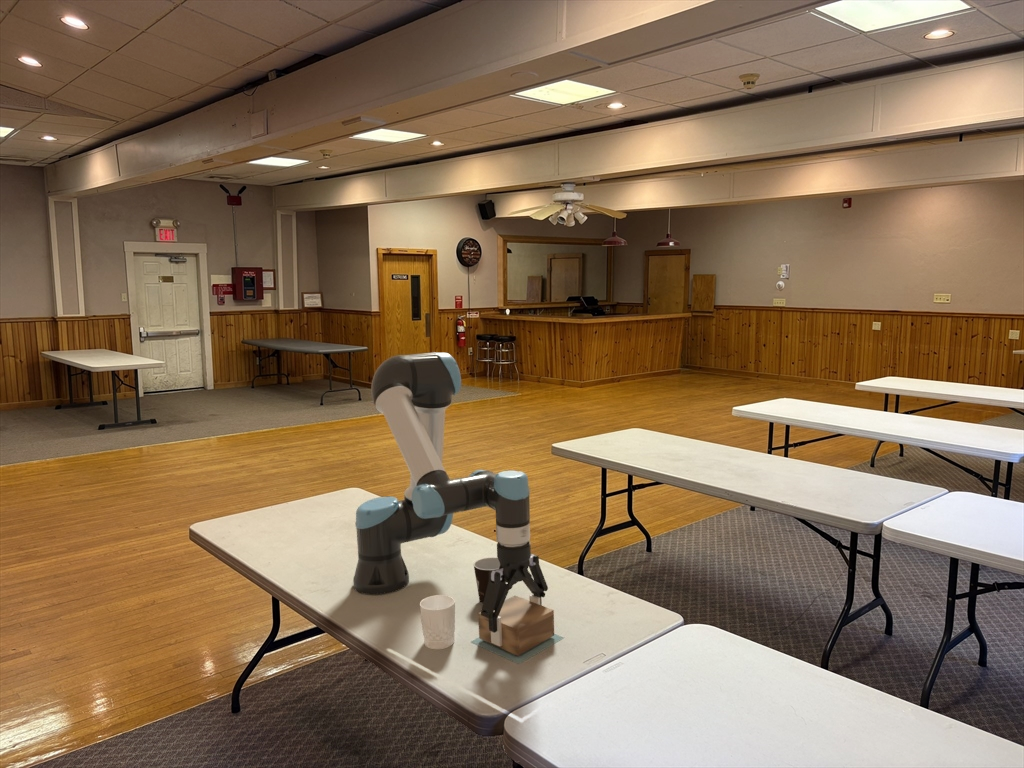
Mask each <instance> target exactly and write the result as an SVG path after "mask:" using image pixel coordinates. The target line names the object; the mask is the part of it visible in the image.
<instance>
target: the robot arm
mask: <svg viewBox="0 0 1024 768" xmlns="http://www.w3.org/2000/svg"><path fill="white" fill-rule="evenodd" d="M461 376H462V375H461V371H460V368H459V365H458V362H457V361H456V359H455V358H454V357H453V356H452V354H450V353H448V352H435V351H432V352H425V353H413V354H399V355H394V356H391V357H388V358H387V359H386V360H384V361H383V362H382V363H380V365H379V366H378V367H377V369H376V370H375V372H374V374H373V378H372V380H371V387H370V388H371V389H370V390H371V398H372V401H373V405H374V406H375V408H376V410H377V412H378V413H381V414H382V415H383V416H384V418H385V420H386V423H387V424H388V427H389V429H390V432H391V435H393V438H394V440H395V442H396V444H397V447H398V449H399V451H400V454H401V455H402V458H403V459H404V463H405V464H406V466H407V469H408V471H409V473H410V480H409V481H410V484H409V486H408V487H407V488H406V489H405V490H404V495H403V496H404V497H403V498H404V499H402V500H398V498H397V497H395V496H381V497H380V496H379V497H376V498H372V499H369V500H367V501H365V502H363V503H362V504H360V505H359V506H358V507H357V508H356V511H355V524H354V525H355V529H356V530H355V531H356V542H357V555H358V557H357V558H358V560H357V563H356V567H355V572H354V575H353V580H352V583H353V589H354V590H355V592H358V593H360V594H363V595H375V596H376V595H385V594H391V593H394V592H395V593H396V592H397V591H400V590H402V589H404V588H405V587H406V586H407V585H408V584H409V582H410V576H409V575H410V573H409V570H408V568H407V565H406V563H405V560H404V558H403V555H402V544H405V543H408V542H413V541H418V540H422V539H427V538H434V537H435V538H436V537H437V536H438V535H442V534H445V533H446V532H448V530H449V529H450V527H451V526H452V524H453V523H452V522H453V519H454V514H456V513H459V512H467V511H473V510H476V509H481V508H486V507H488V508H489V509H492V510H495V529H496V530H495V531H496V532H495V535H496V541H497V543H496V556H497V557H496V558H498V560H499V562H500V567H499V570H496V571H493V570H490V571H489V582H488V586H487V590H486V594H485V598H484V602H483V603H482V607H481V610H480V612H481V615H482V616H484V617H486V618H488V619H489V630H490V631H491V643H493V644H495V645H497V646H502V625H501V617H500V616H499V613H500V611H501V609H502V606H503V604H504V601H505V600H507V599H506V598H507V597H508V594H509V592H510V590H512V588H513V586H514V585H516V584H517V583H518V582H523V584H525V586H526V587H527V589H528V590H529V591H530V592H531V594H530V595H529V598H528V601H531V602H534V603H536V604H539V605H542V598H545V597H546V592H548V590H549V587H548V584H547V581H546V579H545V576H544V574H543V571H542V568H541V566H540V558H539V555H535V554H532V547H531V545H532V544H531V526H530V525H531V521H530V518H531V517H530V516H531V515H530V513H531V512H530V509H531V507H530V506H531V504H530V492H531V491H530V486H529V478H528V477H529V476H528V475H527V474H526V473H525V472H523V471H520V470H518V471H517V470H504V471H503V470H502V471H500V472H497V473H495V472H493V471H490V470H485V469H477V470H474V471H473V472H472V473H471V474H469V475H468V476H465V477H459V478H458V477H457V478H451V479H450V477H449V475H448V474H447V470H446V469H445V467H444V465H443V457H444V441H445V439H444V438H445V434H444V433H445V422H446V421H445V419H446V409H447V408H449V407H450V406H451V404H452V398H453V397H452V396H455V395H457V394H459V392H460V391H461V388H462V377H461ZM504 580H505V582H506V584H505V583H503V582H504ZM542 606H543V605H542ZM494 610H495V612H493V611H494Z"/></svg>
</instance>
